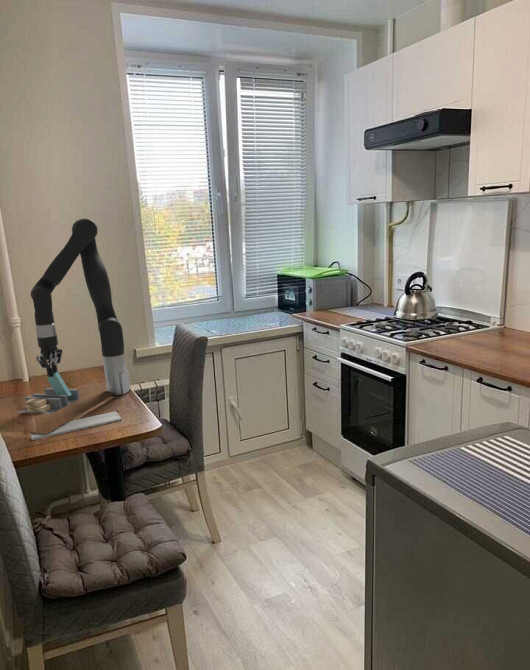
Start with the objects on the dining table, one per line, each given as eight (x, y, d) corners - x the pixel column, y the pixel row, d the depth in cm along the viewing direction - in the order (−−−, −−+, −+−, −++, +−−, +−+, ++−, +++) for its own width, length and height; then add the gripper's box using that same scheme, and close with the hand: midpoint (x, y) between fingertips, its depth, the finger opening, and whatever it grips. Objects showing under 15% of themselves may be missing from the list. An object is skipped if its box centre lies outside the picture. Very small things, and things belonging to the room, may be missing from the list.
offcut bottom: (50, 409, 202) (50, 404, 202) (44, 412, 199) (43, 407, 198) (34, 408, 205) (33, 403, 204) (27, 411, 201) (26, 406, 200)
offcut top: (47, 404, 202) (46, 399, 202) (40, 407, 199) (39, 402, 198) (32, 403, 204) (31, 398, 204) (25, 406, 201) (24, 402, 200)
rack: (80, 401, 214) (79, 388, 213) (51, 417, 197) (49, 404, 196) (49, 399, 219) (47, 387, 218) (17, 415, 201) (15, 402, 200)
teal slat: (71, 394, 210) (57, 371, 209) (68, 396, 208) (54, 373, 208) (63, 399, 212) (49, 376, 211) (60, 401, 210) (46, 378, 209)
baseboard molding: (30, 431, 186) (32, 442, 176) (28, 423, 186) (30, 434, 175) (115, 412, 200) (122, 422, 190) (114, 405, 200) (121, 414, 189)
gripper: (42, 338, 198) (49, 381, 202) (65, 331, 211) (71, 371, 215) (27, 338, 200) (33, 380, 204) (50, 331, 213) (56, 370, 217)
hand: (52, 375), depth 209 cm, fingers closed on teal slat, 2 cm apart
